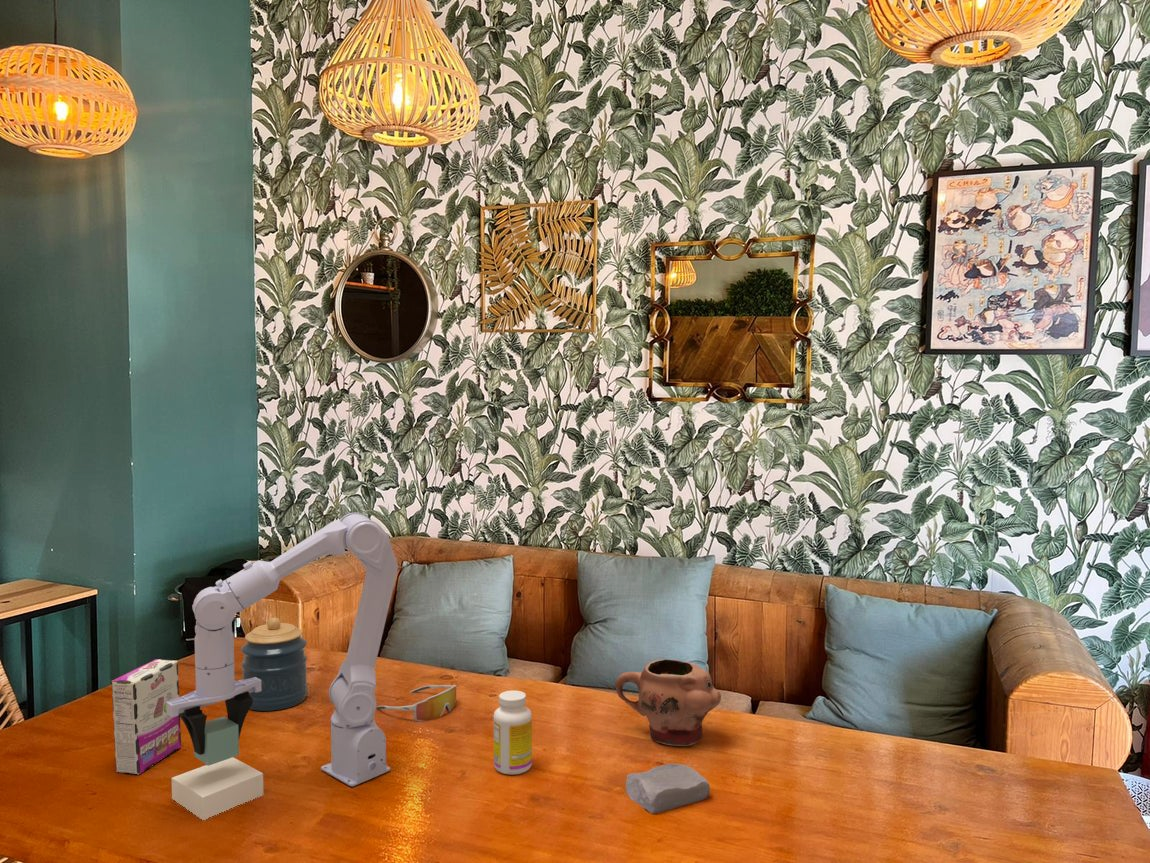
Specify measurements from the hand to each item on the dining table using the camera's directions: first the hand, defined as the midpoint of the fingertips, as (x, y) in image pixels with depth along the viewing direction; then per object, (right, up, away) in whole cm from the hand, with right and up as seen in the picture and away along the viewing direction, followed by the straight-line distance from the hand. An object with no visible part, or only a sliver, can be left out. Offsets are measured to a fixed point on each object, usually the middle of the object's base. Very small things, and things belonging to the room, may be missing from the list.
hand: (216, 746), depth 133 cm
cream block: (0, -9, +1) cm, 9 cm away
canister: (-6, -6, +41) cm, 42 cm away
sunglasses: (+26, -7, +38) cm, 46 cm away
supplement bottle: (+47, -8, +11) cm, 49 cm away
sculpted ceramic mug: (+75, -8, +24) cm, 79 cm away
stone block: (+72, -9, +3) cm, 73 cm away
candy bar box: (-18, -8, +14) cm, 24 cm away
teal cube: (0, -2, 0) cm, 2 cm away
